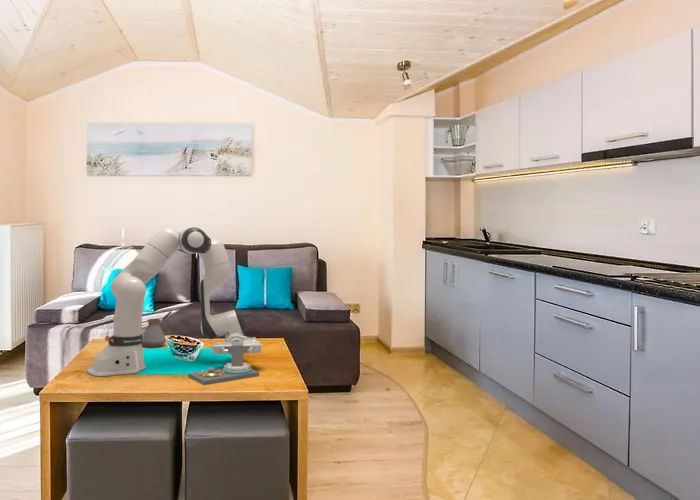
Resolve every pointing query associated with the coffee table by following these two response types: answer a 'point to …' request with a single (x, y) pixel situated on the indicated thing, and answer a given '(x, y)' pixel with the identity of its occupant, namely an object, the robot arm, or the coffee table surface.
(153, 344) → the coffee pot
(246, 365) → the loose gear
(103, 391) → the coffee table surface
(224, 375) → the gear board
